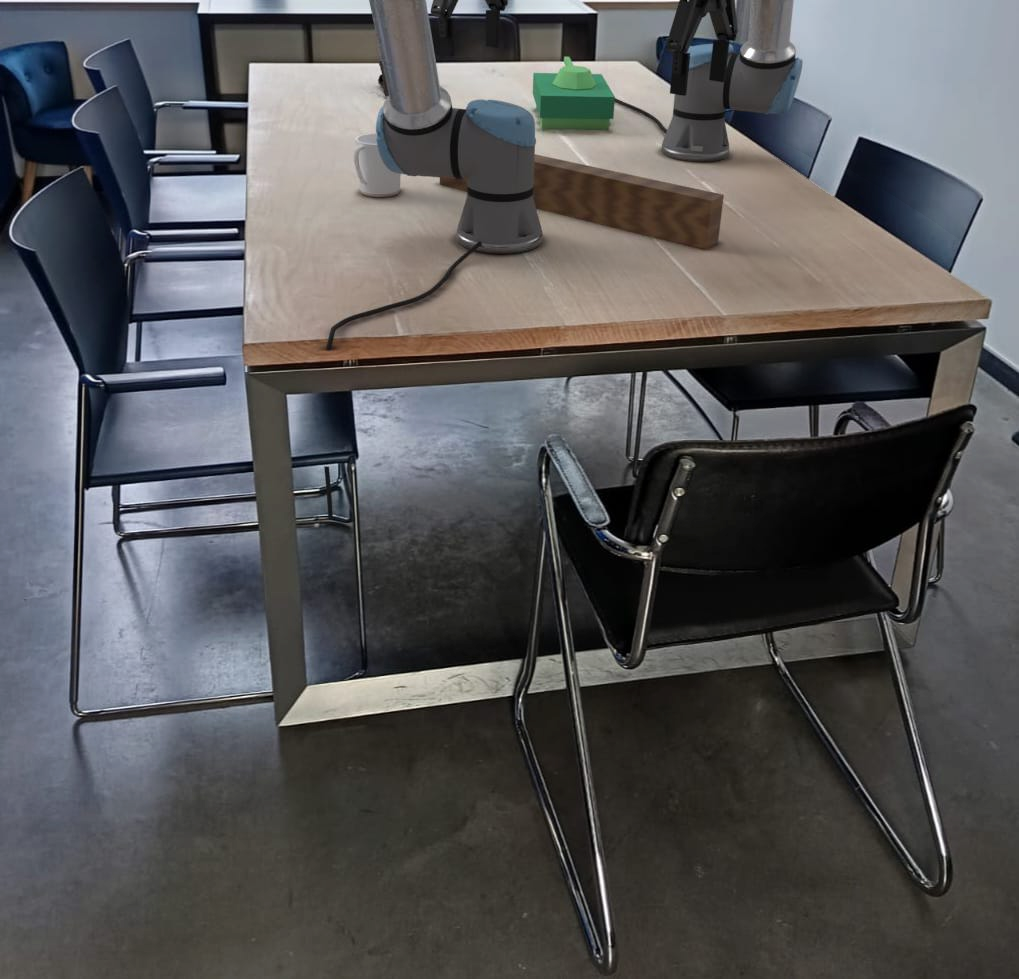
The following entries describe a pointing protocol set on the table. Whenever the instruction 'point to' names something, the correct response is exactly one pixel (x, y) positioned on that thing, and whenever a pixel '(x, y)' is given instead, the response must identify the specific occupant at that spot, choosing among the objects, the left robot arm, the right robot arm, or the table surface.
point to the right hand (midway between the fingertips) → (697, 87)
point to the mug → (373, 169)
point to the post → (624, 201)
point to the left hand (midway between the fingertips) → (470, 51)
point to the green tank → (573, 99)
